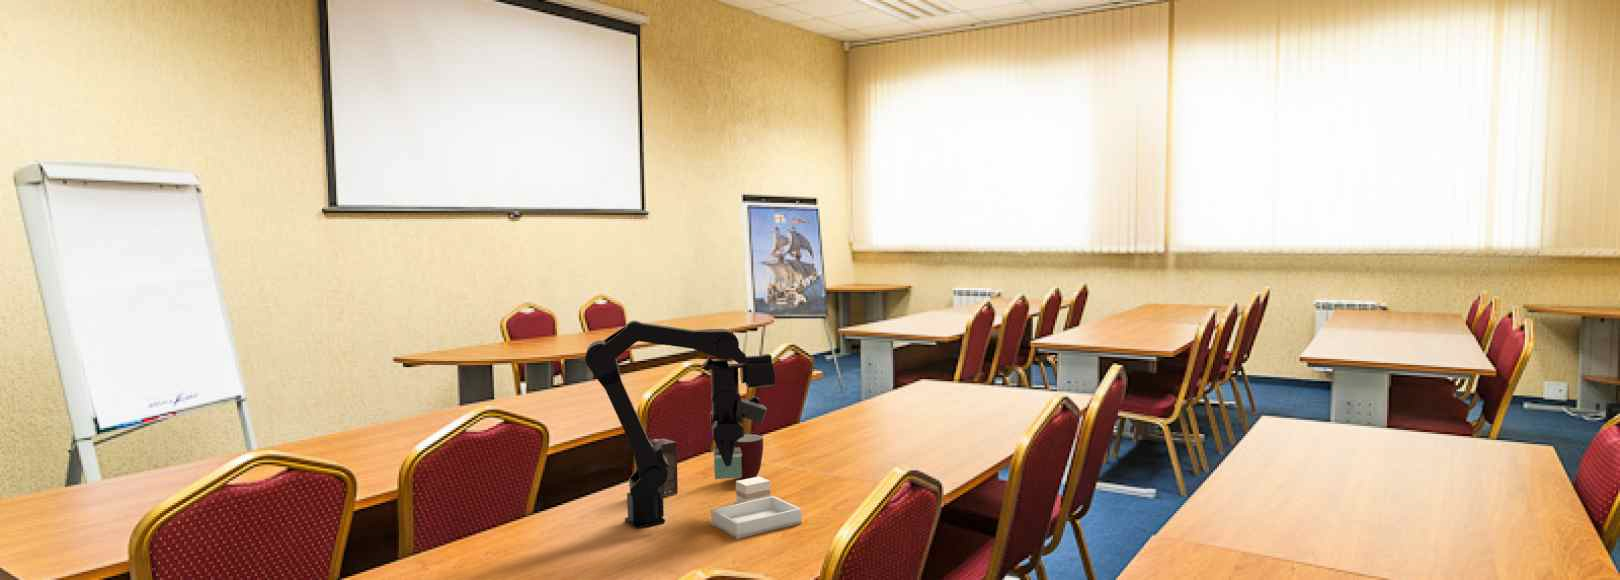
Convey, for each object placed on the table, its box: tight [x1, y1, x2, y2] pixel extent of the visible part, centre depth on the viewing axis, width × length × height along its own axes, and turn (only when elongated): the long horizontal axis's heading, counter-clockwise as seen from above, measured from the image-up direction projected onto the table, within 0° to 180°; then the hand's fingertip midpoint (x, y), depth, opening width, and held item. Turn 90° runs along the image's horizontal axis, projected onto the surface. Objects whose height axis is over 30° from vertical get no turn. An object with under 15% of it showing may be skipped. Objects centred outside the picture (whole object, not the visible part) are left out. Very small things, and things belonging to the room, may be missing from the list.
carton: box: [735, 476, 771, 504], centre depth 195 cm, size 6×4×5 cm
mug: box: [734, 433, 764, 480], centre depth 212 cm, size 10×8×10 cm
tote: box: [710, 495, 803, 540], centre depth 181 cm, size 15×11×3 cm
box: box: [649, 437, 679, 497], centre depth 204 cm, size 6×4×12 cm
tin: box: [712, 447, 742, 480], centre depth 187 cm, size 6×6×5 cm
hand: (727, 462), depth 186 cm, fingers closed on tin, 6 cm apart
